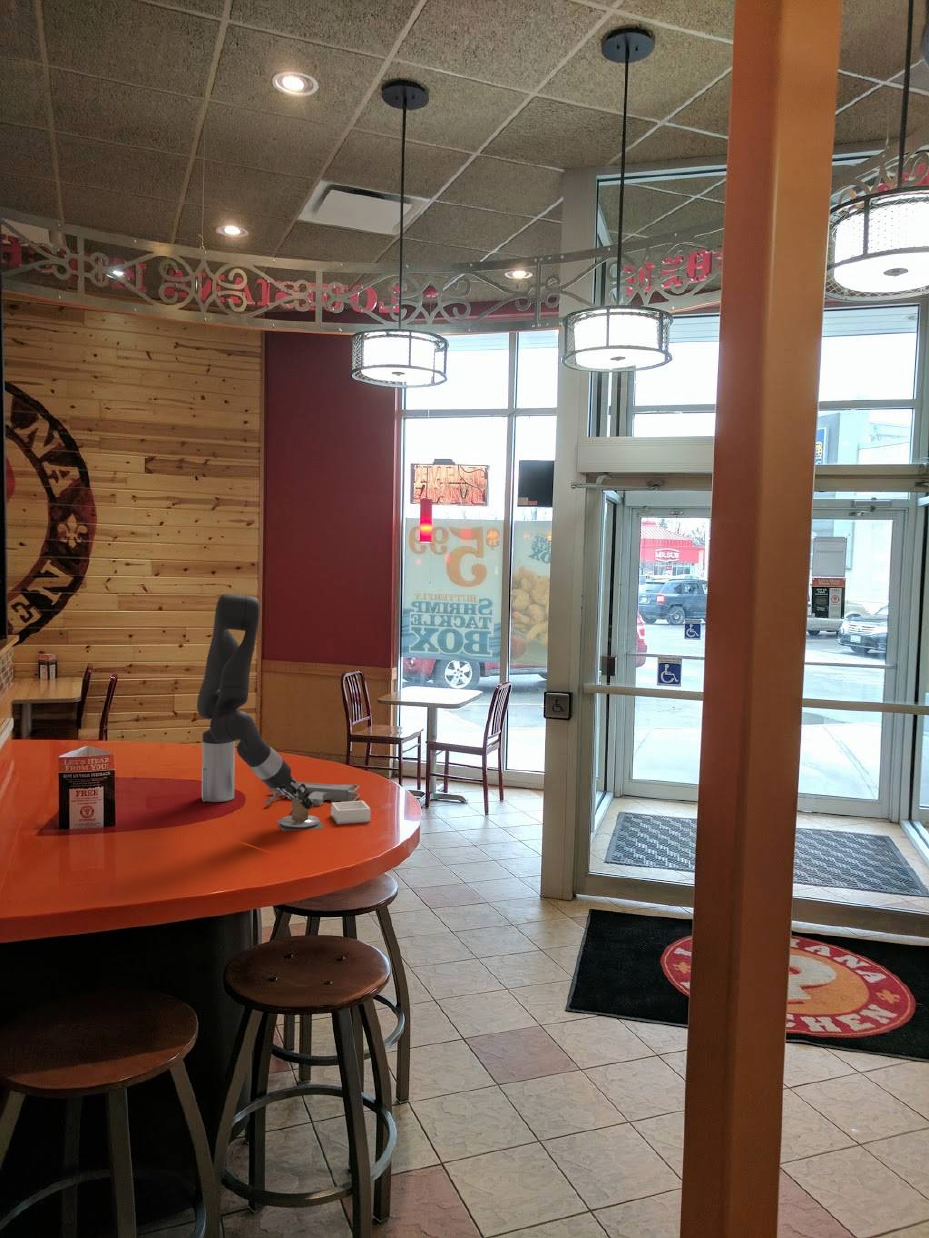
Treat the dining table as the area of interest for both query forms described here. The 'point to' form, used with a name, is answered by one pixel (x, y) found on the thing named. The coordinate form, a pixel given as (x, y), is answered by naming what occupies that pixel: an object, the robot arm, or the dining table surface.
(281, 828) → the mat
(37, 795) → the dining table surface
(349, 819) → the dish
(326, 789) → the submachine gun
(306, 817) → the lid
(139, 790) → the dining table surface
